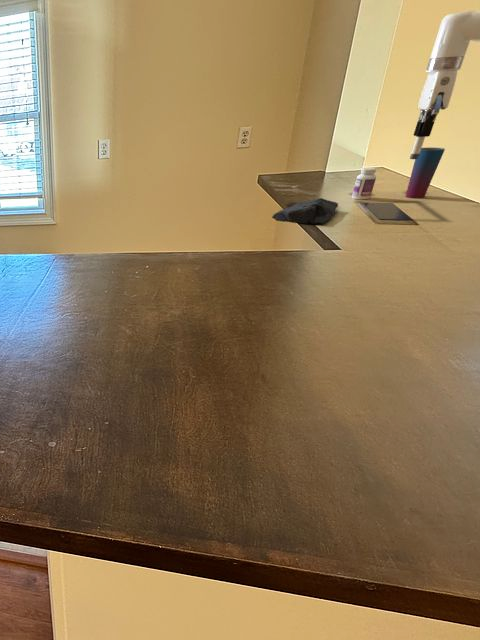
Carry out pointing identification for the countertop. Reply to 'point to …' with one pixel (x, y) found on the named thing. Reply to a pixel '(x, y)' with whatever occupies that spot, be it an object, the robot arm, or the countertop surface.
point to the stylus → (417, 147)
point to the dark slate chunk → (308, 212)
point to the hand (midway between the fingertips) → (421, 135)
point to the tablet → (385, 213)
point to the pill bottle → (364, 184)
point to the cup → (423, 171)
